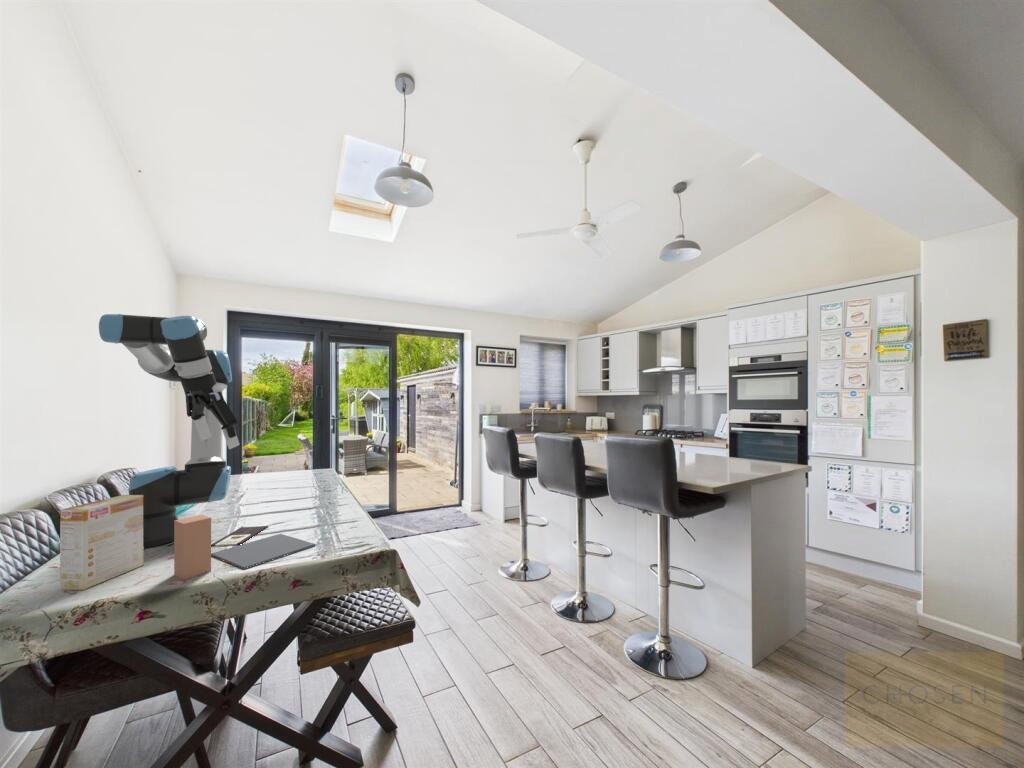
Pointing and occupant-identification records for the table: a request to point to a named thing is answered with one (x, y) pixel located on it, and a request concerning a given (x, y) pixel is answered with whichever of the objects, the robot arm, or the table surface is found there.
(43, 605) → the table surface
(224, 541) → the chocolate bar
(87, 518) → the coffeecake box
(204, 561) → the wooden block
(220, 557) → the rubber mat
